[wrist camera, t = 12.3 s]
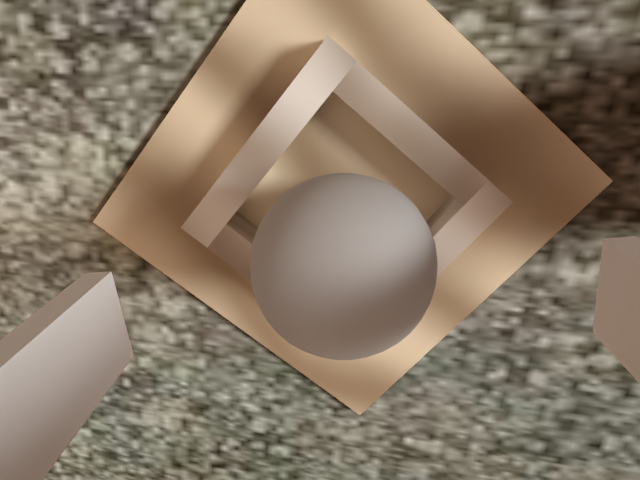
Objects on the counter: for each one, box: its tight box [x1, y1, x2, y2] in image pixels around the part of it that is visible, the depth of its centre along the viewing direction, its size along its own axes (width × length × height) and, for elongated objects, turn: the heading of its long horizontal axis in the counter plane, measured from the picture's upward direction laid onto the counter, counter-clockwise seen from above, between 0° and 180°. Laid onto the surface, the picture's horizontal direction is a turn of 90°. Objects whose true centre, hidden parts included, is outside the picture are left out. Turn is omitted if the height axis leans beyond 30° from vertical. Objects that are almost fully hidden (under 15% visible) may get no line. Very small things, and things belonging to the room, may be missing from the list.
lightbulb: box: [250, 173, 438, 360], centre depth 18 cm, size 6×6×11 cm
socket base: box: [93, 0, 613, 415], centre depth 22 cm, size 18×18×3 cm
